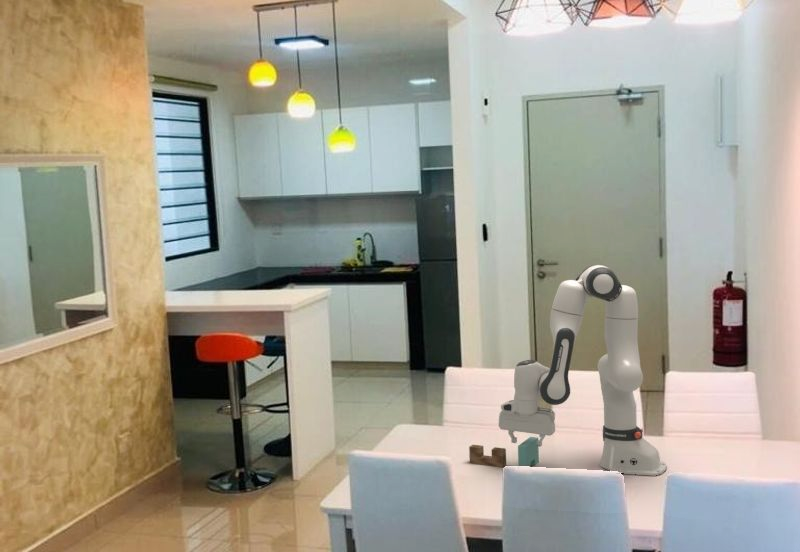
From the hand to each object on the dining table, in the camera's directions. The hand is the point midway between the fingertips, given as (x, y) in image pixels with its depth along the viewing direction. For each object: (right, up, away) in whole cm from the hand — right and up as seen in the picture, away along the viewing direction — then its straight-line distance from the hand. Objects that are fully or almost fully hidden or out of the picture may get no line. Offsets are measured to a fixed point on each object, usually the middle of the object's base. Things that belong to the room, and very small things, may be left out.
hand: (526, 444), depth 303 cm
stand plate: (-13, -8, +5) cm, 16 cm away
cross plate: (+1, -8, +1) cm, 8 cm away
